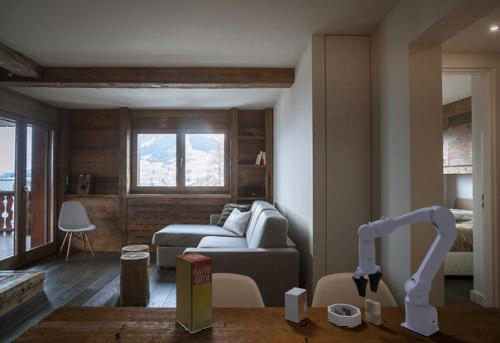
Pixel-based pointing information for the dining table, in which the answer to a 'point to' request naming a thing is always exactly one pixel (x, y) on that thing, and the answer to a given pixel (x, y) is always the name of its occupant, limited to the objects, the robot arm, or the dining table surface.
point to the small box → (296, 304)
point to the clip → (344, 311)
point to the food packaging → (194, 291)
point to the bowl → (344, 320)
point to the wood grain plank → (372, 312)
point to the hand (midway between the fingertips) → (368, 294)
